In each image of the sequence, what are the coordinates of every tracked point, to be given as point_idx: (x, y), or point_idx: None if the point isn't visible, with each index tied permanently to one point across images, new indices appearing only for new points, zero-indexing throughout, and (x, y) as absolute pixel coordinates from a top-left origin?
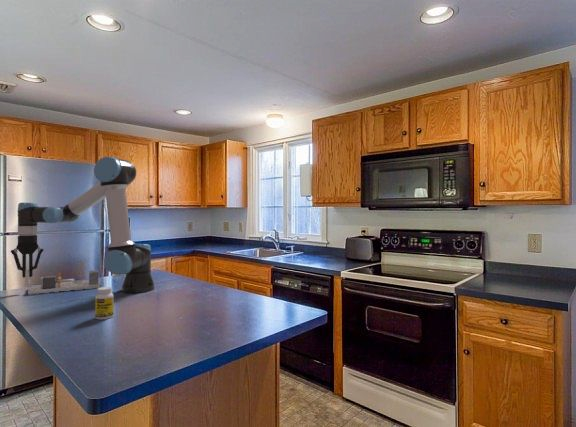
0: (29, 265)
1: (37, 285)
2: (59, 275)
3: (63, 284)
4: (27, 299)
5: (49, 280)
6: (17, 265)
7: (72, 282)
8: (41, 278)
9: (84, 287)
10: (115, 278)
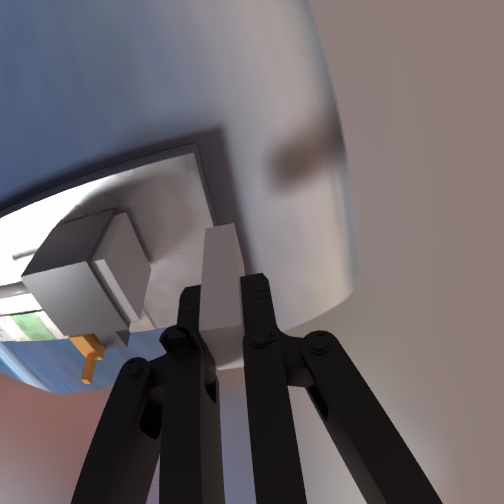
0: (195, 398)
1: None
2: (86, 364)
3: None
4: (156, 4)
5: (57, 254)
6: (352, 381)
7: (43, 321)
8: (107, 273)
9: None
10: (8, 371)
